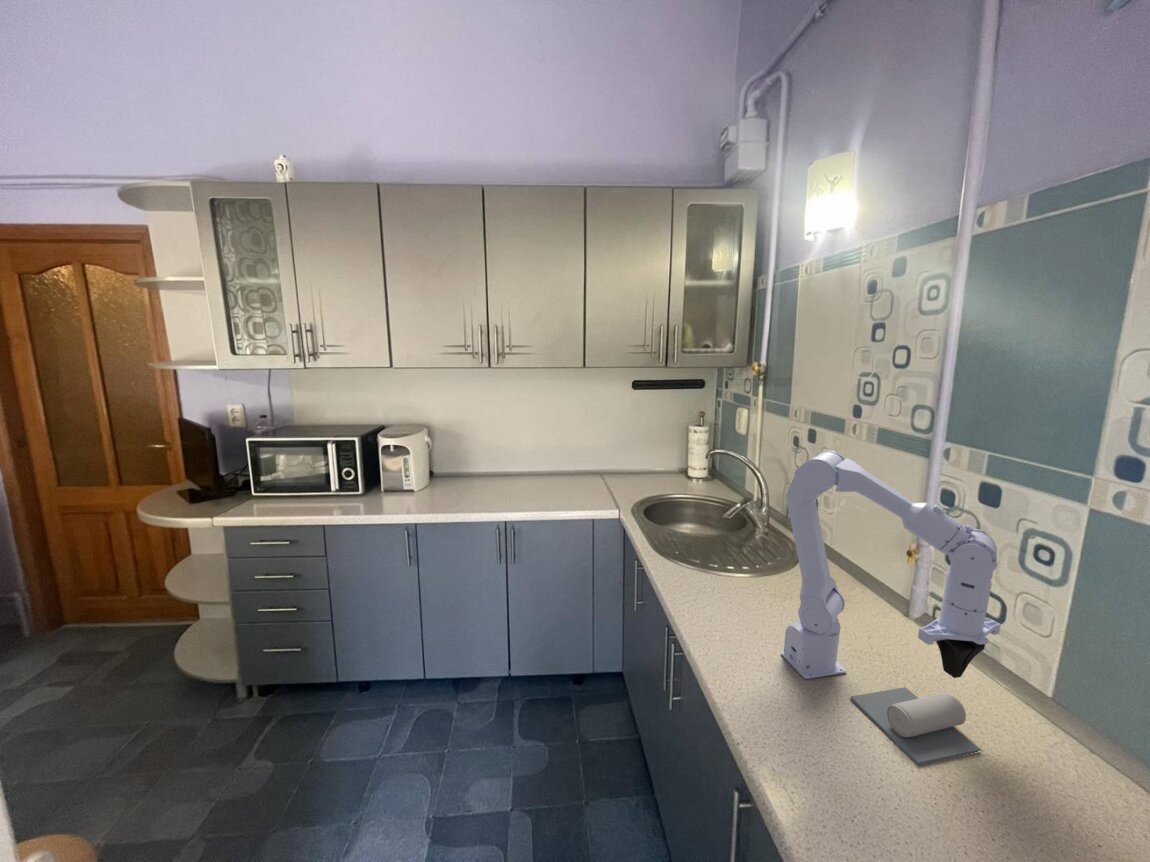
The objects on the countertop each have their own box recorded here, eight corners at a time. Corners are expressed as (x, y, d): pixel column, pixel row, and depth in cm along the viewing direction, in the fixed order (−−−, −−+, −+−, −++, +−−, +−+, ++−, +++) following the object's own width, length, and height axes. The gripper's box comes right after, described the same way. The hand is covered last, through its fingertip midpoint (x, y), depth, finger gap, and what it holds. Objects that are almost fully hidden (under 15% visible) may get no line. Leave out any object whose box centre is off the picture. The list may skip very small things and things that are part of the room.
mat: (918, 765, 73) (918, 762, 73) (850, 699, 87) (850, 696, 87) (980, 752, 76) (980, 749, 76) (904, 689, 89) (905, 687, 89)
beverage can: (954, 688, 81) (898, 701, 78) (975, 720, 78) (917, 734, 75) (934, 696, 84) (880, 708, 82) (953, 726, 81) (898, 740, 78)
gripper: (951, 621, 73) (938, 696, 76) (1025, 610, 76) (1010, 684, 78) (911, 597, 80) (901, 667, 82) (981, 588, 83) (968, 656, 85)
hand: (951, 673), depth 81 cm, fingers closed
